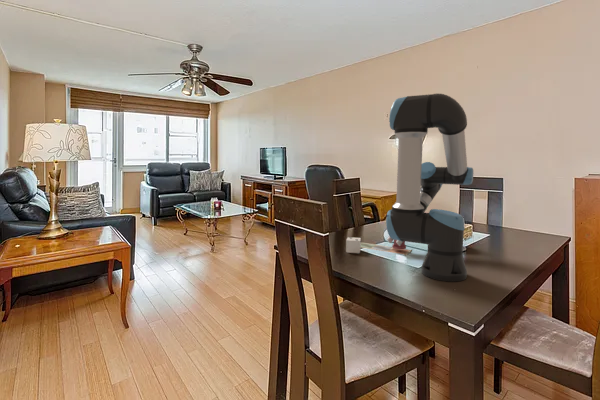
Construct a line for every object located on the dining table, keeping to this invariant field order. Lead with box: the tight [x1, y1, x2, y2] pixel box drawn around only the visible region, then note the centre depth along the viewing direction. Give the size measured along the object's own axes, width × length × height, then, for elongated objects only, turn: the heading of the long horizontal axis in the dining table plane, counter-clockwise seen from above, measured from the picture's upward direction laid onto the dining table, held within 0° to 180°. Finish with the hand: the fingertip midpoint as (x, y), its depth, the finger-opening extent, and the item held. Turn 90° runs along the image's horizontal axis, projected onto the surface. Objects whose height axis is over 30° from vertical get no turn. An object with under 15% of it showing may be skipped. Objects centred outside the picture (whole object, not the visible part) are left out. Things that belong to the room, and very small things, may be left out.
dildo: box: [391, 240, 407, 249], centre depth 148 cm, size 6×6×13 cm
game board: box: [361, 241, 413, 257], centre depth 154 cm, size 9×25×1 cm, turn 55°
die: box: [345, 236, 362, 254], centre depth 149 cm, size 6×6×6 cm
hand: (393, 242), depth 147 cm, fingers closed on dildo, 5 cm apart
